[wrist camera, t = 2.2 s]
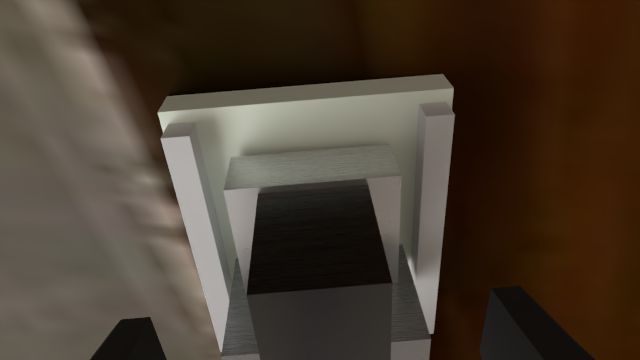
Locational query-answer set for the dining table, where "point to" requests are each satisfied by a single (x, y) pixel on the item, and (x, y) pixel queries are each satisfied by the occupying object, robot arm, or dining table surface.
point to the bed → (305, 135)
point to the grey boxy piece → (320, 259)
